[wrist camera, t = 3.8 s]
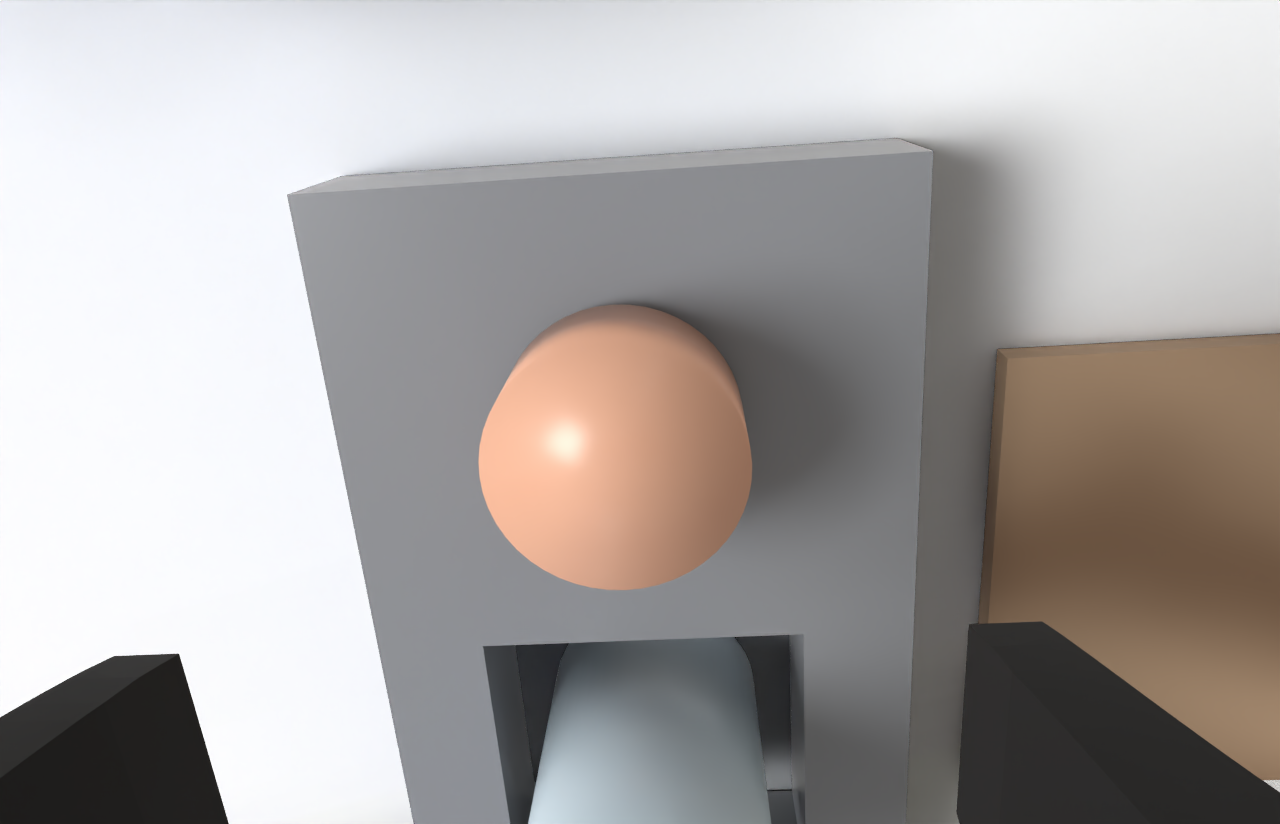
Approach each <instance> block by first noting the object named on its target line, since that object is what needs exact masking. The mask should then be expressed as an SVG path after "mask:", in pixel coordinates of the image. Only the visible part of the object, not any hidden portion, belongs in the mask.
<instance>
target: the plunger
mask: <svg viewBox="0 0 1280 824" xmlns="http://www.w3.org/2000/svg"><path fill="white" fill-rule="evenodd" d="M478 463H479V476H480V482H481V487H482V492H483V495H484V498H485V501H486V504H487V506H488V509H489V511H490V513H491V515H492V517H493V519H494V521H495V522H496V524H497V526H498V527H499V529H500V530H501V531H502V533H503V534H504V536H505V537H506V538H507V539H508V540H509V542H510V543H511V544H512V545H513V546H514V547H515V548H516V549H517V550H518V551H519V552H520V553H521V554H522V555H524V556H525V557H526V558H527V559H528V560H530V561H531V562H532V563H534V564H535V565H537V566H538V567H540V568H541V569H543V570H545V571H547V572H549V573H551V574H552V575H554V576H556V577H558V578H561V579H564V580H566V581H569V582H572V583H574V584H578V585H582V586H586V587H590V588H597V589H605V590H632V589H642V588H647V587H651V586H656V585H660V584H663V583H666V582H668V581H671V580H674V579H676V578H678V577H680V576H683V575H685V574H687V573H689V572H690V571H692V570H694V569H695V568H697V567H698V566H700V565H701V564H703V563H704V562H705V561H706V560H708V559H709V558H710V557H711V556H712V555H714V554H715V553H716V552H717V551H718V550H719V549H720V547H721V546H722V545H723V544H724V543H725V542H726V541H727V539H728V538H729V537H730V535H731V534H732V532H733V531H734V529H735V528H736V526H737V524H738V522H739V520H740V518H741V516H742V514H743V512H744V509H745V506H746V503H747V500H748V497H749V492H750V487H751V481H752V458H751V449H750V443H749V438H748V433H747V427H746V422H745V417H744V412H743V406H742V401H741V397H740V393H739V389H738V385H737V383H736V380H735V378H734V375H733V373H732V371H731V369H730V367H729V366H728V364H727V362H726V360H725V359H724V357H723V356H722V355H721V354H720V352H719V351H718V350H717V348H716V347H715V346H714V345H713V344H712V343H711V342H710V341H709V340H708V339H707V338H706V337H705V336H704V335H703V334H702V333H700V332H699V331H698V330H696V329H695V328H694V327H692V326H691V325H689V324H688V323H686V322H684V321H682V320H681V319H679V318H677V317H675V316H672V315H670V314H667V313H665V312H662V311H659V310H656V309H652V308H648V307H643V306H636V305H605V306H597V307H593V308H589V309H585V310H581V311H578V312H576V313H574V314H571V315H569V316H566V317H564V318H562V319H561V320H559V321H557V322H555V323H554V324H552V325H551V326H549V327H548V328H547V329H545V330H544V331H543V332H541V333H540V334H539V335H538V336H537V337H536V338H535V339H534V340H533V341H532V342H531V343H530V344H529V345H528V346H527V348H526V349H525V350H524V352H523V353H522V354H521V356H520V357H519V359H518V361H517V363H516V364H515V366H514V368H513V370H512V372H511V374H510V375H509V377H508V379H507V381H506V383H505V385H504V387H503V389H502V390H501V392H500V394H499V396H498V398H497V400H496V402H495V404H494V405H493V407H492V409H491V411H490V413H489V415H488V418H487V421H486V423H485V426H484V429H483V432H482V437H481V442H480V447H479V461H478Z"/></svg>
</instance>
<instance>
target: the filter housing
mask: <svg viewBox="0 0 1280 824" xmlns="http://www.w3.org/2000/svg"><path fill="white" fill-rule="evenodd" d="M932 170H933V151H932V150H929V149H926V148H923V147H921V146H918V145H915V144H912V143H909V142H906V141H904V140H901V139H898V138H889V139H874V140H860V141H845V142H831V143H816V144H802V145H787V146H773V147H758V148H744V149H729V150H715V151H700V152H686V153H671V154H656V155H642V156H627V157H613V158H598V159H584V160H569V161H555V162H540V163H526V164H511V165H497V166H482V167H468V168H453V169H439V170H424V171H410V172H395V173H381V174H366V175H351V176H340V177H337V178H335V179H332V180H329V181H326V182H323V183H320V184H317V185H314V186H311V187H308V188H305V189H303V190H300V191H297V192H294V193H291V194H288V195H287V196H288V201H289V206H290V211H291V216H292V221H293V226H294V231H295V236H296V241H297V246H298V251H299V256H300V261H301V266H302V271H303V276H304V281H305V286H306V291H307V296H308V301H309V306H310V311H311V316H312V321H313V325H314V330H315V335H316V340H317V345H318V350H319V355H320V360H321V365H322V370H323V375H324V380H325V385H326V390H327V395H328V400H329V405H330V410H331V415H332V420H333V425H334V430H335V435H336V440H337V445H338V450H339V455H340V460H341V465H342V470H343V474H344V479H345V484H346V489H347V494H348V499H349V504H350V509H351V514H352V519H353V524H354V529H355V534H356V539H357V544H358V549H359V554H360V559H361V564H362V569H363V574H364V579H365V584H366V589H367V594H368V599H369V604H370V609H371V614H372V619H373V624H374V628H375V633H376V638H377V643H378V648H379V653H380V658H381V663H382V668H383V673H384V678H385V683H386V688H387V693H388V698H389V703H390V708H391V713H392V718H393V723H394V728H395V733H396V738H397V743H398V748H399V753H400V758H401V763H402V768H403V773H404V778H405V782H406V787H407V792H408V797H409V802H410V807H411V812H412V817H413V822H414V824H528V822H529V817H530V811H531V806H532V801H533V796H534V791H535V783H534V776H533V768H532V761H531V754H530V747H529V740H528V732H527V725H526V718H525V711H524V704H523V696H522V689H521V682H520V675H519V668H518V661H517V653H516V646H515V645H530V644H557V643H583V642H610V641H637V640H664V639H690V638H717V637H744V636H771V635H790V700H791V767H792V791H767V793H768V801H769V809H770V817H771V824H906V807H907V783H908V758H909V734H910V709H911V685H912V660H913V636H914V611H915V587H916V562H917V538H918V513H919V489H920V464H921V440H922V415H923V391H924V366H925V342H926V317H927V293H928V268H929V244H930V219H931V195H932ZM605 305H636V306H643V307H648V308H652V309H656V310H659V311H662V312H665V313H667V314H670V315H672V316H675V317H677V318H679V319H681V320H682V321H684V322H686V323H688V324H689V325H691V326H692V327H694V328H695V329H696V330H698V331H699V332H700V333H702V334H703V335H704V336H705V337H706V338H707V339H708V340H709V341H710V342H711V343H712V344H713V345H714V346H715V347H716V348H717V350H718V351H719V352H720V354H721V355H722V356H723V357H724V359H725V360H726V362H727V364H728V366H729V367H730V369H731V371H732V373H733V375H734V378H735V380H736V383H737V385H738V389H739V393H740V397H741V401H742V406H743V412H744V417H745V422H746V427H747V433H748V438H749V443H750V449H751V458H752V481H751V487H750V492H749V497H748V500H747V503H746V506H745V509H744V512H743V514H742V516H741V518H740V520H739V522H738V524H737V526H736V528H735V529H734V531H733V532H732V534H731V535H730V537H729V538H728V539H727V541H726V542H725V543H724V544H723V545H722V546H721V547H720V549H719V550H718V551H717V552H716V553H715V554H714V555H712V556H711V557H710V558H709V559H708V560H706V561H705V562H704V563H703V564H701V565H700V566H698V567H697V568H695V569H694V570H692V571H690V572H689V573H687V574H685V575H683V576H680V577H678V578H676V579H674V580H671V581H668V582H666V583H663V584H660V585H656V586H651V587H647V588H642V589H632V590H605V589H597V588H590V587H586V586H582V585H578V584H574V583H572V582H569V581H566V580H564V579H561V578H558V577H556V576H554V575H552V574H551V573H549V572H547V571H545V570H543V569H541V568H540V567H538V566H537V565H535V564H534V563H532V562H531V561H530V560H528V559H527V558H526V557H525V556H524V555H522V554H521V553H520V552H519V551H518V550H517V549H516V548H515V547H514V546H513V545H512V544H511V543H510V542H509V540H508V539H507V538H506V537H505V536H504V534H503V533H502V531H501V530H500V529H499V527H498V526H497V524H496V522H495V521H494V519H493V517H492V515H491V513H490V511H489V509H488V506H487V504H486V501H485V498H484V495H483V492H482V487H481V482H480V476H479V463H478V461H479V447H480V442H481V437H482V432H483V429H484V426H485V423H486V421H487V418H488V415H489V413H490V411H491V409H492V407H493V405H494V404H495V402H496V400H497V398H498V396H499V394H500V392H501V390H502V389H503V387H504V385H505V383H506V381H507V379H508V377H509V375H510V374H511V372H512V370H513V368H514V366H515V364H516V363H517V361H518V359H519V357H520V356H521V354H522V353H523V352H524V350H525V349H526V348H527V346H528V345H529V344H530V343H531V342H532V341H533V340H534V339H535V338H536V337H537V336H538V335H539V334H540V333H541V332H543V331H544V330H545V329H547V328H548V327H549V326H551V325H552V324H554V323H555V322H557V321H559V320H561V319H562V318H564V317H566V316H569V315H571V314H574V313H576V312H578V311H581V310H585V309H589V308H593V307H597V306H605Z"/></svg>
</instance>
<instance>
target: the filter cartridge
mask: <svg viewBox="0 0 1280 824" xmlns="http://www.w3.org/2000/svg"><path fill="white" fill-rule="evenodd" d="M528 824H771V817H770V809H769V801H768V793H767V785H766V777H765V769H764V761H763V753H762V745H761V737H760V729H759V721H758V713H757V704H756V696H755V688H754V680H753V673H752V669H751V666H750V662H749V660H748V658H747V656H746V653H745V652H744V650H743V648H742V647H741V645H740V644H739V642H738V641H737V640H736V639H735V638H734V637H717V638H690V639H664V640H637V641H610V642H583V643H569V645H568V646H567V648H566V649H565V652H564V654H563V656H562V658H561V661H560V665H559V668H558V673H557V678H556V683H555V688H554V693H553V699H552V704H551V709H550V714H549V719H548V724H547V729H546V734H545V740H544V745H543V750H542V755H541V760H540V765H539V770H538V776H537V781H536V786H535V791H534V796H533V801H532V806H531V811H530V817H529V822H528Z"/></svg>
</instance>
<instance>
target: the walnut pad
mask: <svg viewBox="0 0 1280 824" xmlns="http://www.w3.org/2000/svg"><path fill="white" fill-rule="evenodd" d="M1038 621H1042V622H1044V623H1045V624H1047V625H1048V626H1050V627H1051V628H1053V629H1054V630H1056V631H1057V632H1059V633H1060V634H1062V635H1063V636H1064V637H1066V638H1067V639H1069V640H1070V641H1071V642H1073V643H1074V644H1076V645H1077V646H1078V647H1080V648H1081V649H1083V650H1084V651H1085V652H1087V653H1088V654H1089V655H1091V656H1092V657H1093V658H1095V659H1096V660H1098V661H1099V662H1100V663H1102V664H1103V665H1104V666H1106V667H1107V668H1108V669H1110V670H1111V671H1112V672H1114V673H1115V674H1116V675H1118V676H1119V677H1121V678H1122V679H1123V680H1125V681H1126V682H1127V683H1129V684H1130V685H1131V686H1133V687H1134V688H1135V689H1137V690H1138V691H1139V692H1141V693H1142V694H1143V695H1145V696H1146V697H1148V698H1149V699H1150V700H1152V701H1153V702H1154V703H1156V704H1157V705H1158V706H1160V707H1161V708H1162V709H1164V710H1165V711H1167V712H1168V713H1169V714H1171V715H1172V716H1173V717H1175V718H1176V719H1177V720H1179V721H1180V722H1182V723H1183V724H1184V725H1186V726H1187V727H1188V728H1190V729H1191V730H1193V731H1194V732H1195V733H1197V734H1198V735H1199V736H1201V737H1202V738H1204V739H1205V740H1206V741H1208V742H1209V743H1210V744H1212V745H1213V746H1215V747H1216V748H1217V749H1219V750H1220V751H1222V752H1223V753H1224V754H1226V755H1227V756H1229V757H1230V758H1231V759H1233V760H1234V761H1236V762H1237V763H1239V764H1240V765H1241V766H1243V767H1244V768H1246V769H1247V770H1248V771H1250V772H1251V773H1253V774H1254V775H1255V776H1257V777H1258V778H1260V779H1261V780H1280V334H1263V335H1244V336H1226V337H1208V338H1190V339H1172V340H1154V341H1135V342H1117V343H1099V344H1081V345H1063V346H1044V347H1026V348H1008V349H997V359H996V374H995V388H994V402H993V417H992V431H991V446H990V460H989V474H988V489H987V503H986V517H985V532H984V546H983V561H982V575H981V589H980V604H979V618H978V624H985V623H1012V622H1038Z"/></svg>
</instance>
